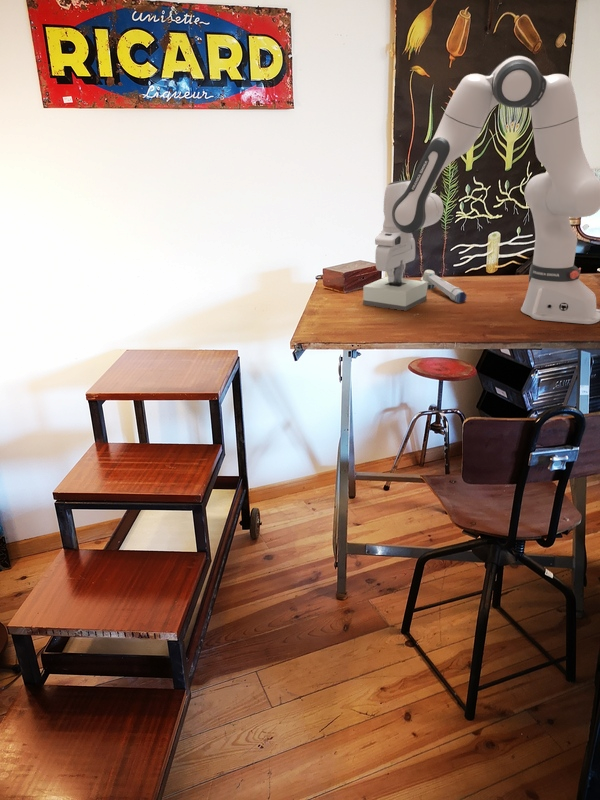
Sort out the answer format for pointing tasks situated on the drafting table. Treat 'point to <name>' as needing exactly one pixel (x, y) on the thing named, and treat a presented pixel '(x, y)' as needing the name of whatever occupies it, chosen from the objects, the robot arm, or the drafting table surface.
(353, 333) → the drafting table surface
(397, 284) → the dark grey upright bar
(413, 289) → the socket block
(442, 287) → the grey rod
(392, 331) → the drafting table surface
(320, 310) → the drafting table surface
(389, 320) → the drafting table surface
